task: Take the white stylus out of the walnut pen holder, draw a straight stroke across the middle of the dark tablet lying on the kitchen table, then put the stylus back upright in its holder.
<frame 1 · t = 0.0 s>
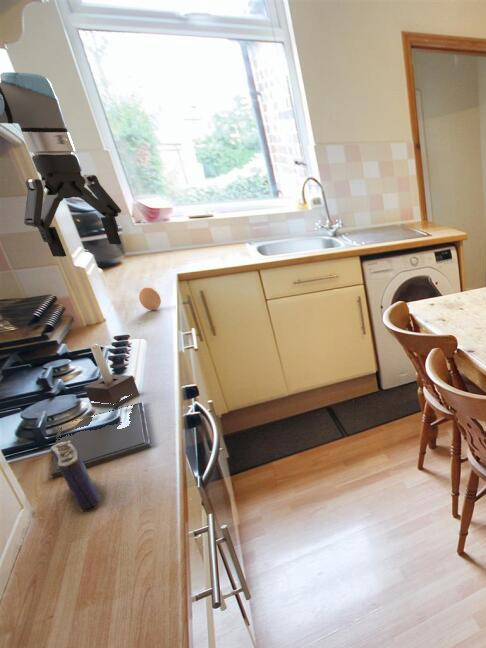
hand: (89, 249, 111), 30 cm above the countertop, tool pointing down, fingers open, 13 cm apart
egg: (153, 310, 163), on the countertop
stylus: (105, 373, 103), in the holder
holder: (116, 400, 106), on the countertop
tablet: (104, 437, 92), on the countertop
flask: (86, 497, 77), on the countertop
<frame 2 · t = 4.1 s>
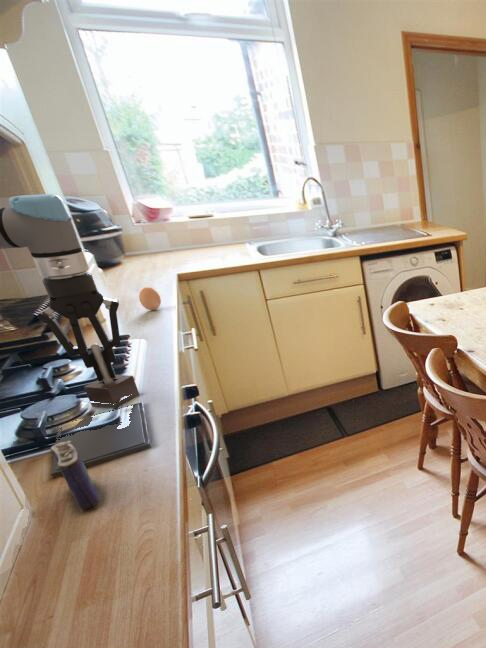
hand: (107, 377, 103), 6 cm above the countertop, tool pointing down, fingers closed on stylus, 1 cm apart
stylus: (105, 373, 103), in the holder, touching gripper
everything else where it was.
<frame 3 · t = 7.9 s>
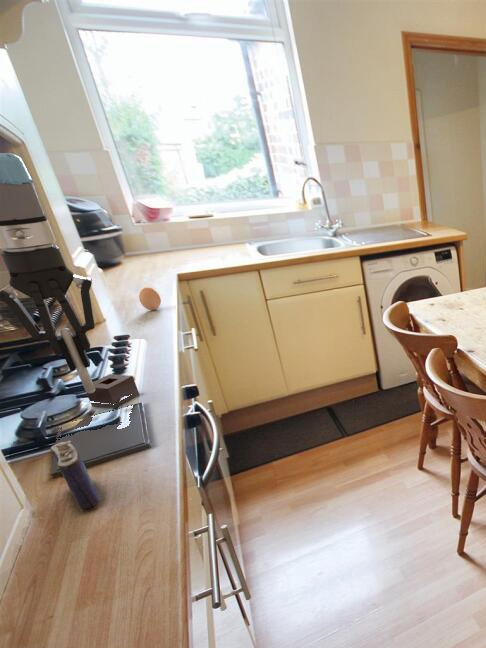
hand: (80, 366, 91), 14 cm above the countertop, tool pointing down, fingers closed on stylus, 1 cm apart
stylus: (78, 361, 91), point 15 cm above the countertop, touching gripper
everything else where it was.
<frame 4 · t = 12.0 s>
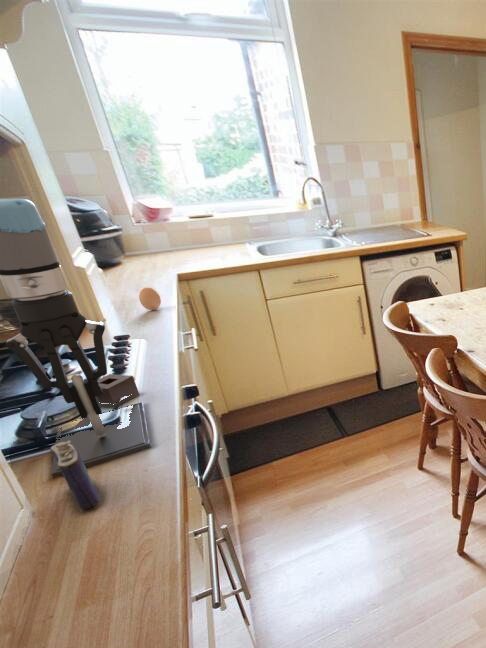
hand: (91, 413, 88), 7 cm above the countertop, tool pointing down, fingers closed on stylus, 1 cm apart
stylus: (89, 406, 88), point 8 cm above the countertop, touching gripper
everything else where it was.
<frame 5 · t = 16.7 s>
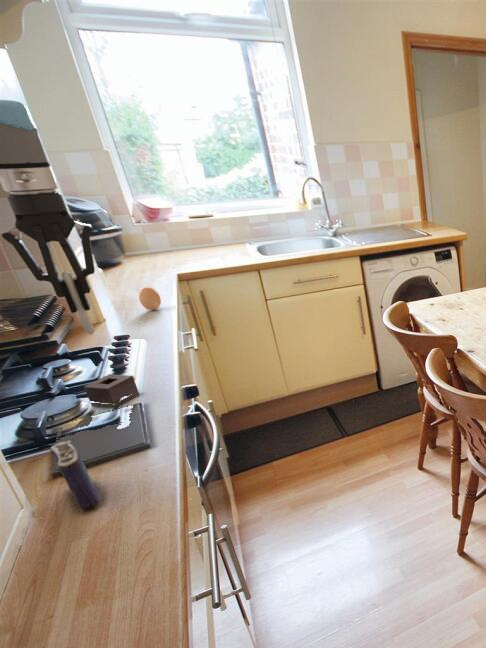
hand: (80, 309, 97), 22 cm above the countertop, tool pointing down, fingers closed on stylus, 1 cm apart
stylus: (78, 303, 97), point 23 cm above the countertop, touching gripper
everything else where it was.
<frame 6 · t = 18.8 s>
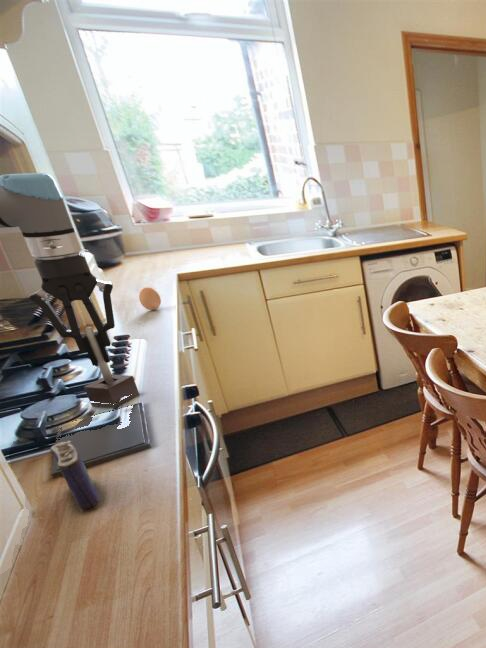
hand: (101, 361, 102), 10 cm above the countertop, tool pointing down, fingers closed on stylus, 1 cm apart
stylus: (99, 356, 102), point 11 cm above the countertop, touching gripper
everything else where it was.
when the fingers open (6 cm above the countertop, at t = 20.1 s): stylus moves 1 cm, resting on holder.
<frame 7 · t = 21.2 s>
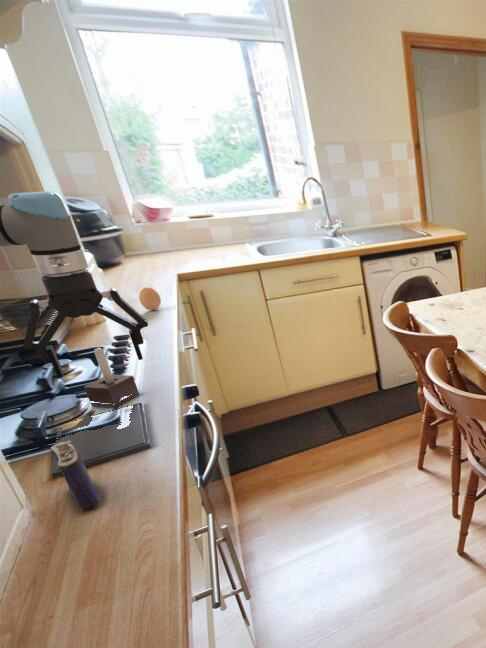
hand: (102, 366, 102), 9 cm above the countertop, tool pointing down, fingers open, 13 cm apart
stylus: (107, 374, 103), in the holder, tilted 12°
everything else where it was.
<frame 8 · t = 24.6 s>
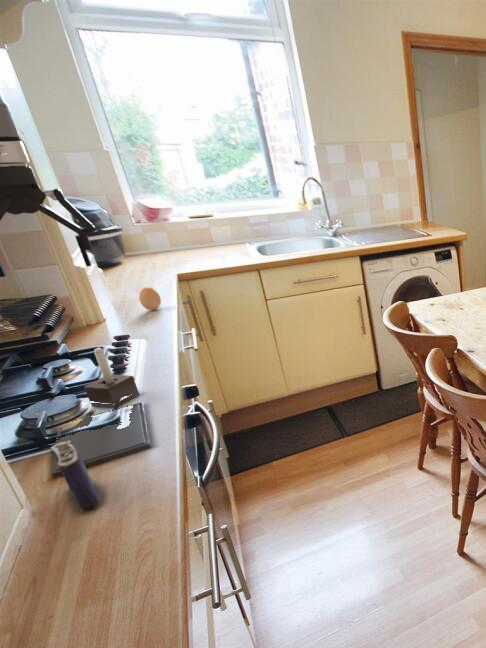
hand: (47, 270, 100), 29 cm above the countertop, tool pointing down, fingers open, 13 cm apart
nothing on the countertop moved.
at the end: stylus 0.6 cm off-centre in the holder, point 6.8 cm above the holder's base; stylus tilted 12°; the gripper is holding nothing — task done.
